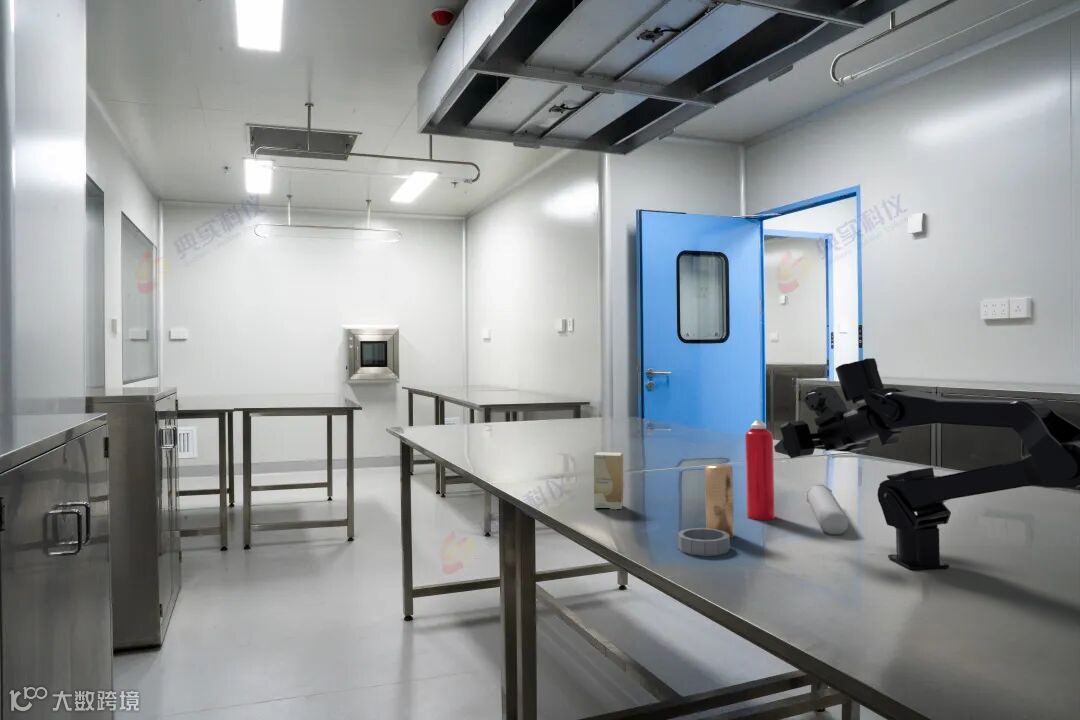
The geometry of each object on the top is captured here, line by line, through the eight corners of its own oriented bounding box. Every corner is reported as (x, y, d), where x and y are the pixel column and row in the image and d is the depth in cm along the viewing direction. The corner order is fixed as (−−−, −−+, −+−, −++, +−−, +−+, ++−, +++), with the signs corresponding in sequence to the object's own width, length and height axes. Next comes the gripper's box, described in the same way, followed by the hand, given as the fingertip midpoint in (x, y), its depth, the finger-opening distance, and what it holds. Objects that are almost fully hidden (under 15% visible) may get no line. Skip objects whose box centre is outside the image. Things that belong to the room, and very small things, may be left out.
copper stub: (737, 538, 129) (736, 467, 129) (711, 539, 129) (709, 469, 129) (728, 531, 134) (726, 463, 134) (702, 532, 134) (701, 464, 134)
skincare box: (593, 509, 156) (592, 454, 156) (596, 505, 160) (595, 451, 160) (622, 510, 154) (620, 454, 154) (624, 505, 159) (623, 451, 158)
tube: (855, 516, 128) (835, 488, 152) (825, 506, 129) (810, 480, 153) (845, 544, 128) (827, 511, 152) (816, 533, 130) (802, 502, 154)
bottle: (777, 515, 146) (775, 419, 145) (771, 521, 141) (769, 422, 141) (750, 512, 148) (748, 418, 148) (744, 518, 144) (741, 421, 143)
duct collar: (736, 554, 119) (736, 539, 119) (687, 556, 119) (686, 542, 119) (719, 540, 128) (719, 527, 128) (673, 543, 127) (672, 529, 127)
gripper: (878, 378, 128) (815, 404, 141) (804, 383, 119) (744, 409, 132) (899, 438, 124) (832, 458, 137) (824, 447, 116) (760, 467, 129)
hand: (793, 447), depth 134 cm, fingers open, 9 cm apart
